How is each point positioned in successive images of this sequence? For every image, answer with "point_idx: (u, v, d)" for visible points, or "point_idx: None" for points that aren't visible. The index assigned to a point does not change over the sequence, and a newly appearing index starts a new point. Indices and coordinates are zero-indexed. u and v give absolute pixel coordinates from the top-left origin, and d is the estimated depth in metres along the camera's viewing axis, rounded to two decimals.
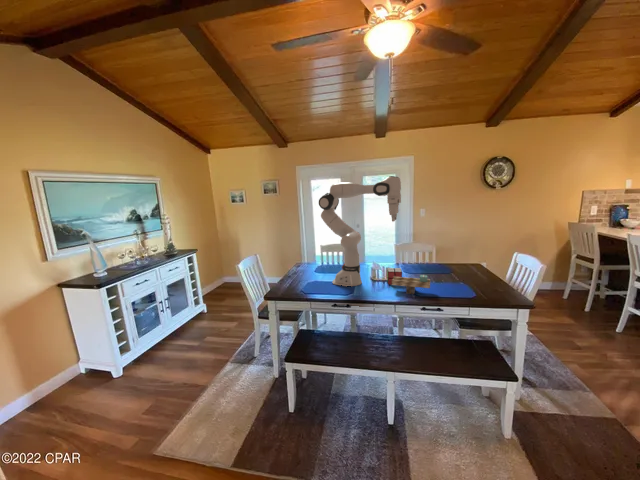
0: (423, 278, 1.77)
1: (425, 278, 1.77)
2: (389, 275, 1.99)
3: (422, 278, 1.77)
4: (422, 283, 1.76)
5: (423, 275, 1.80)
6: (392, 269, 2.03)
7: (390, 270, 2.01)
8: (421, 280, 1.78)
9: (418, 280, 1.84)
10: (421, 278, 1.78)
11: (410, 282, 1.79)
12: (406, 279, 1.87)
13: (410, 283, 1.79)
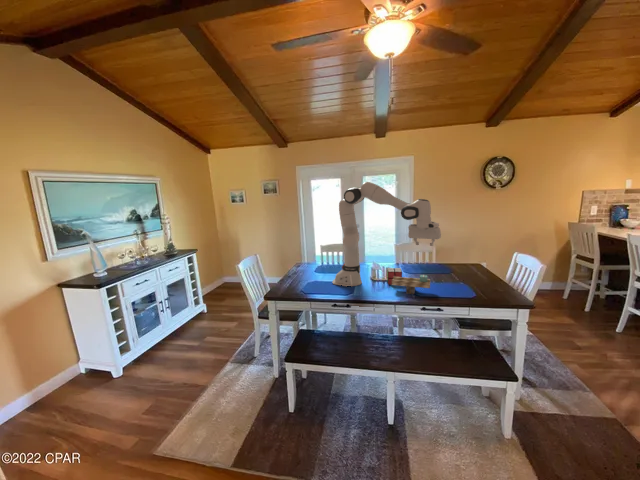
0: (423, 278, 1.77)
1: (425, 278, 1.77)
2: (389, 275, 1.99)
3: (422, 278, 1.77)
4: (422, 283, 1.76)
5: (423, 275, 1.80)
6: (392, 269, 2.03)
7: (390, 270, 2.01)
8: (421, 280, 1.78)
9: (418, 280, 1.84)
10: (421, 278, 1.78)
11: (410, 282, 1.79)
12: (406, 279, 1.87)
13: (410, 283, 1.79)
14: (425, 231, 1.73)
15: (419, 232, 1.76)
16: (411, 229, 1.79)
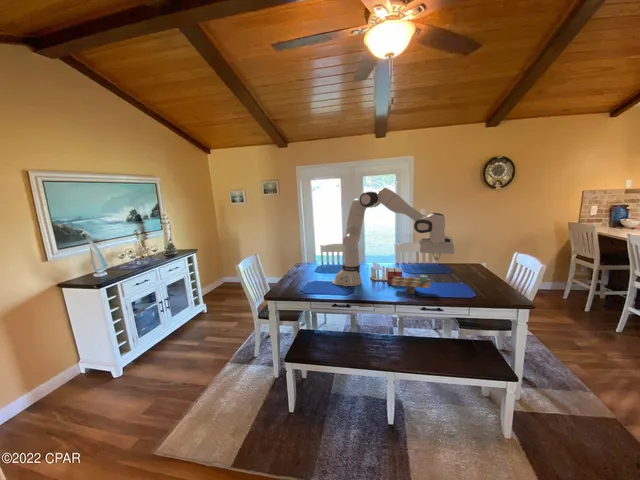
0: (423, 278, 1.77)
1: (425, 278, 1.77)
2: (389, 275, 1.99)
3: (422, 278, 1.77)
4: (422, 283, 1.76)
5: (423, 275, 1.80)
6: (392, 269, 2.03)
7: (390, 270, 2.01)
8: (421, 280, 1.78)
9: (418, 280, 1.84)
10: (421, 278, 1.78)
11: (410, 282, 1.79)
12: (406, 279, 1.87)
13: (410, 283, 1.79)
14: (439, 245, 1.71)
15: (432, 246, 1.72)
16: (424, 243, 1.74)
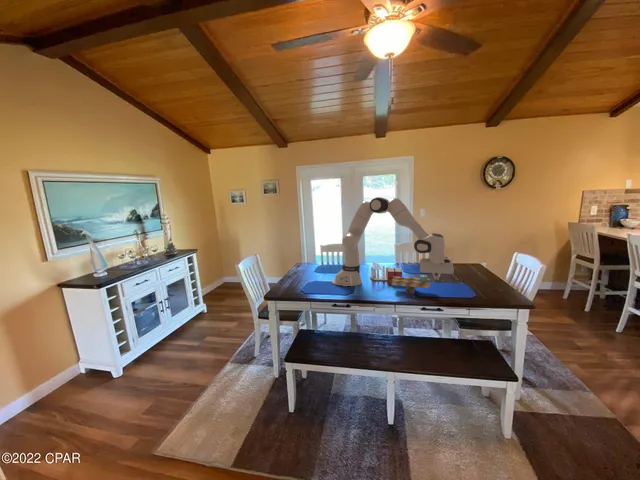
0: (423, 278, 1.77)
1: (425, 278, 1.77)
2: (389, 275, 1.99)
3: (422, 278, 1.77)
4: (422, 283, 1.76)
5: (423, 275, 1.80)
6: (392, 269, 2.03)
7: (390, 270, 2.01)
8: (421, 280, 1.78)
9: (418, 280, 1.84)
10: (421, 278, 1.78)
11: (410, 282, 1.79)
12: (406, 279, 1.87)
13: (410, 283, 1.79)
14: (439, 266, 1.73)
15: (432, 267, 1.74)
16: (423, 263, 1.76)
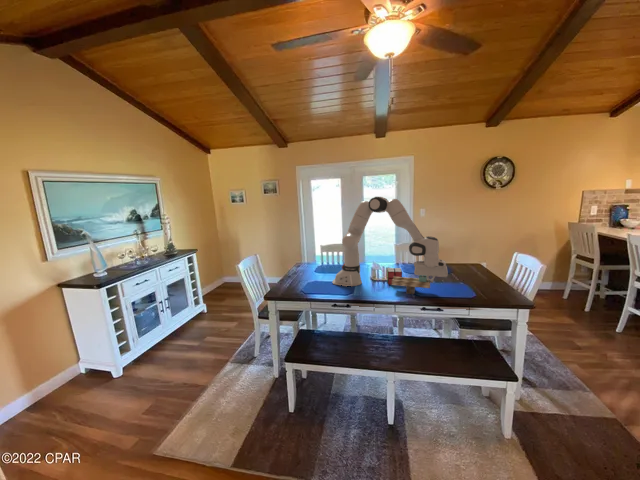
0: (422, 278, 1.77)
1: (424, 278, 1.77)
2: (389, 275, 1.99)
3: (421, 278, 1.78)
4: (422, 283, 1.76)
5: (422, 275, 1.80)
6: (392, 269, 2.03)
7: (390, 270, 2.01)
8: (420, 280, 1.78)
9: (418, 280, 1.84)
10: (420, 278, 1.78)
11: (410, 282, 1.79)
12: (406, 279, 1.87)
13: (410, 283, 1.79)
14: (433, 269, 1.74)
15: (426, 269, 1.76)
16: (418, 266, 1.78)
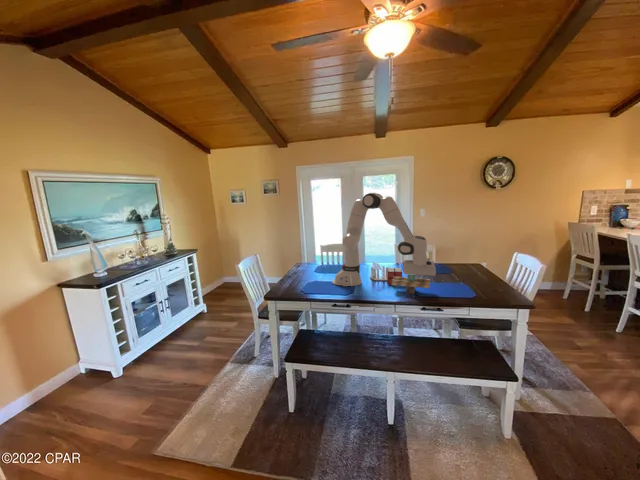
0: (411, 277, 1.80)
1: (413, 277, 1.80)
2: (389, 275, 1.99)
3: (410, 277, 1.80)
4: (422, 283, 1.76)
5: (411, 274, 1.83)
6: (392, 269, 2.03)
7: (390, 270, 2.01)
8: (409, 279, 1.81)
9: None
10: (409, 277, 1.81)
11: (410, 282, 1.79)
12: (406, 279, 1.87)
13: (410, 283, 1.79)
14: (421, 268, 1.77)
15: (415, 268, 1.79)
16: (407, 265, 1.80)
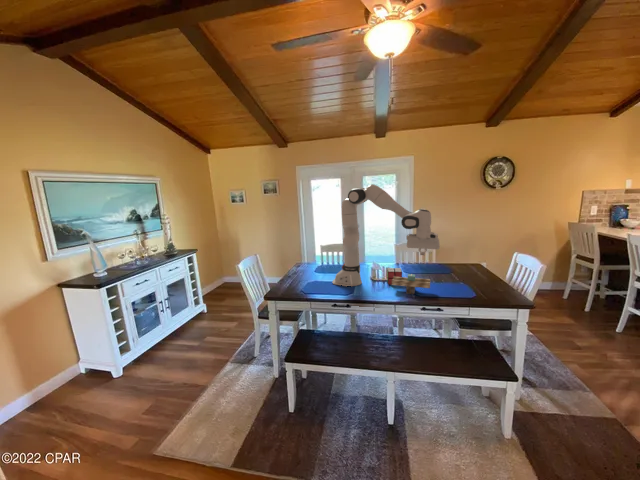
0: (411, 277, 1.80)
1: (413, 277, 1.80)
2: (389, 275, 1.99)
3: (410, 277, 1.80)
4: (422, 283, 1.76)
5: (411, 274, 1.83)
6: (392, 269, 2.03)
7: (390, 270, 2.01)
8: (409, 279, 1.81)
9: (418, 280, 1.84)
10: (409, 277, 1.81)
11: (410, 282, 1.79)
12: (406, 279, 1.87)
13: (410, 283, 1.79)
14: (425, 241, 1.76)
15: (419, 242, 1.77)
16: (410, 239, 1.79)
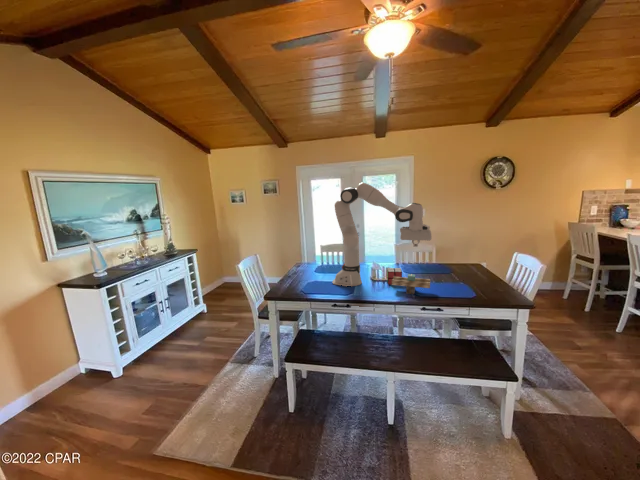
0: (411, 277, 1.80)
1: (413, 277, 1.80)
2: (389, 275, 1.99)
3: (410, 277, 1.80)
4: (422, 283, 1.76)
5: (411, 274, 1.83)
6: (392, 269, 2.03)
7: (390, 270, 2.01)
8: (409, 279, 1.81)
9: (418, 280, 1.84)
10: (409, 277, 1.81)
11: (410, 282, 1.79)
12: (406, 279, 1.87)
13: (410, 283, 1.79)
14: (418, 233, 1.85)
15: (412, 234, 1.86)
16: (404, 231, 1.88)
